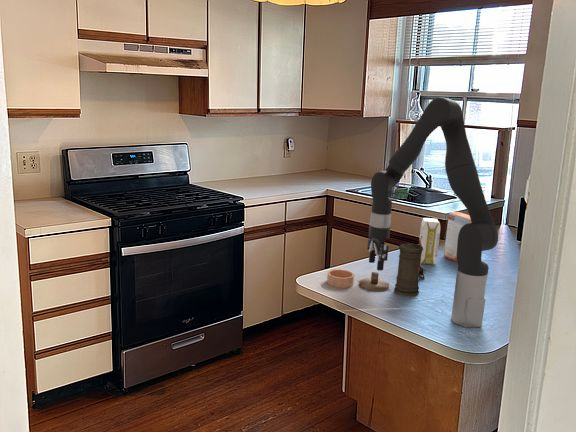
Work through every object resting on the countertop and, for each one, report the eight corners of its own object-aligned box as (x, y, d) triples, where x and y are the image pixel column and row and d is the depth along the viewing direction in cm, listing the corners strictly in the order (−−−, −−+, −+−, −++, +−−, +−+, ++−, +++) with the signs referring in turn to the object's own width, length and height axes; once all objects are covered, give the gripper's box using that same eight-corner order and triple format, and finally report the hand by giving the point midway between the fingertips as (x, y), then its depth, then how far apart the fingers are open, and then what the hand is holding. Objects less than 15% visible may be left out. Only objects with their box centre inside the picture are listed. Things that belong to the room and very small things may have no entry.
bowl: (356, 288, 199) (357, 277, 198) (331, 288, 197) (332, 278, 196) (348, 278, 208) (349, 269, 207) (324, 279, 206) (324, 269, 205)
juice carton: (433, 259, 238) (438, 218, 234) (436, 265, 230) (442, 222, 226) (416, 258, 239) (421, 217, 235) (419, 264, 231) (423, 221, 226)
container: (400, 298, 192) (406, 250, 187) (389, 288, 200) (394, 242, 196) (423, 296, 194) (428, 249, 190) (411, 287, 202) (416, 242, 198)
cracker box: (474, 264, 234) (480, 218, 229) (463, 265, 232) (469, 219, 227) (453, 255, 246) (459, 211, 242) (443, 256, 244) (448, 211, 239)
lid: (393, 290, 197) (394, 277, 196) (365, 291, 195) (366, 278, 194) (382, 280, 208) (383, 267, 207) (355, 280, 205) (356, 268, 204)
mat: (390, 291, 197) (390, 290, 197) (367, 292, 195) (367, 291, 195) (379, 281, 208) (379, 280, 207) (357, 281, 206) (357, 280, 206)
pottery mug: (427, 283, 209) (421, 267, 206) (404, 290, 212) (397, 274, 209) (423, 266, 220) (416, 250, 217) (401, 273, 223) (394, 258, 219)
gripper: (397, 229, 190) (392, 272, 194) (382, 219, 203) (378, 259, 207) (377, 229, 188) (372, 273, 192) (363, 219, 202) (359, 260, 206)
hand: (375, 266), depth 200 cm, fingers open, 8 cm apart
